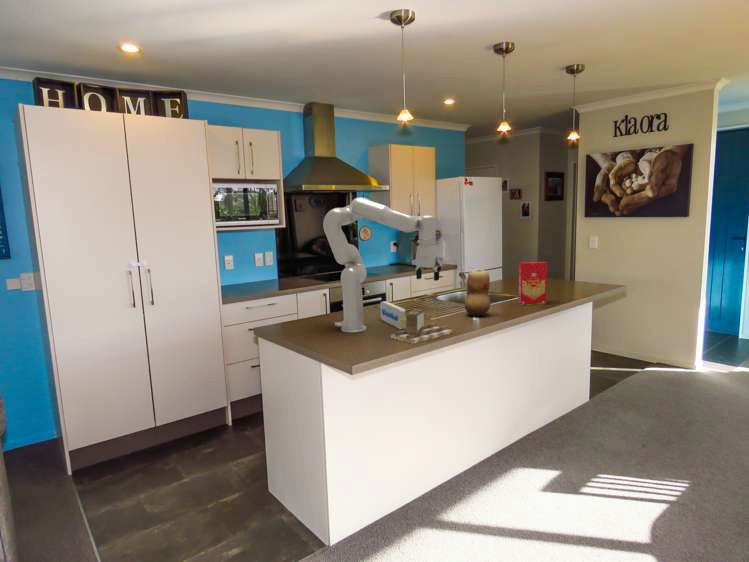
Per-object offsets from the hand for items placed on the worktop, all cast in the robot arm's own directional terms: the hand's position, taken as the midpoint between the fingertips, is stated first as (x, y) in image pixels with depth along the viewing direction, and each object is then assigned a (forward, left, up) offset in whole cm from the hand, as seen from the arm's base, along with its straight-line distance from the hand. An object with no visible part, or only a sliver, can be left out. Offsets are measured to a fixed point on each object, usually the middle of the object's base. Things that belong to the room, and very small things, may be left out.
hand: (427, 279), depth 221 cm
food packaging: (+70, +60, -26) cm, 95 cm away
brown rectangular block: (-7, -7, -22) cm, 24 cm away
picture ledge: (-3, -4, -25) cm, 26 cm away
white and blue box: (-15, +18, -26) cm, 35 cm away
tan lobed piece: (+31, +34, -26) cm, 53 cm away
